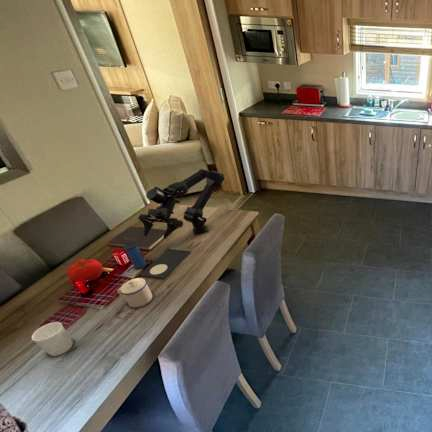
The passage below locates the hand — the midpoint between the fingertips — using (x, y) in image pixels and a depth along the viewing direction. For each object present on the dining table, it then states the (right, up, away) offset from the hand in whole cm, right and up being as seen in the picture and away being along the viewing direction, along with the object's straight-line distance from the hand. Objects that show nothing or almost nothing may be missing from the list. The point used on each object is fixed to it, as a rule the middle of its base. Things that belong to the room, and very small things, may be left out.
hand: (154, 237), depth 150 cm
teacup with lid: (+3, -27, -14) cm, 31 cm away
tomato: (-27, -19, -5) cm, 33 cm away
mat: (+2, -14, +6) cm, 15 cm away
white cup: (-9, -39, -34) cm, 53 cm away
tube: (-9, -14, +3) cm, 18 cm away
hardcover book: (-22, -3, +20) cm, 30 cm away
